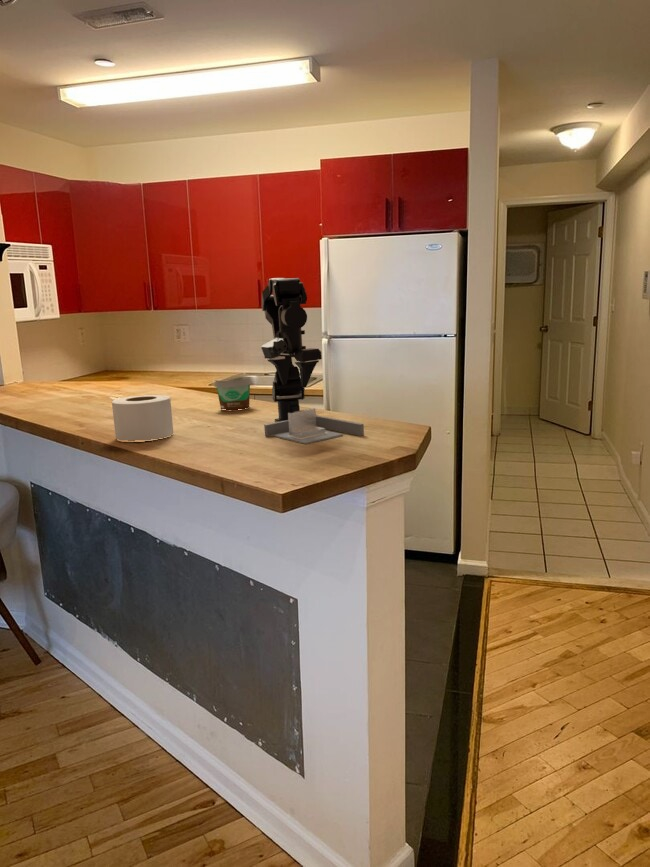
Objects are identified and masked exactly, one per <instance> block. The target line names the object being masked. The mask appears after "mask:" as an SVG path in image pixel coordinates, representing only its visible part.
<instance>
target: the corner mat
mask: <svg viewBox="0 0 650 867" xmlns="http://www.w3.org/2000/svg"><path fill="white" fill-rule="evenodd" d="M273 437H275V438H278V439H283V440H287V441H291V442H294V443H299V444H303V445H308V444H313V443H318V442H322V441H326V440H330V439H335V438H340V437H344V434H343V433H341V432H336V431H331V430H326V433H323V434H318V435H314V436H309V437H305V438H297V437H293V436H289V432H285V433H280V434H276V435H273Z"/></svg>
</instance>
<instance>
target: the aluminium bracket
mask: <svg viewBox="0 0 650 867" xmlns="http://www.w3.org/2000/svg"><path fill="white" fill-rule="evenodd" d="M316 411H317V410H316V408H315V407H314V408H313V407H311V408H307V409H306V408H305V409H301V410H300V411H295V412H290V413H288V421H289V436H293V437H297V438H305V437H309V436H314V435H318V434H323V433H326V431H327V429H325V428H321V427H316V415H317V414H316Z"/></svg>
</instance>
